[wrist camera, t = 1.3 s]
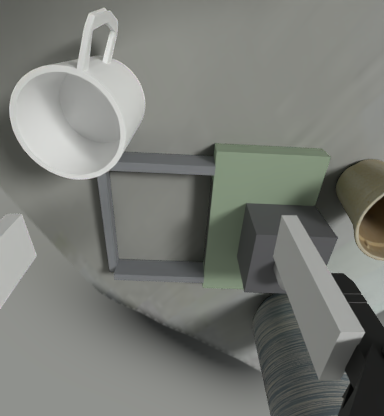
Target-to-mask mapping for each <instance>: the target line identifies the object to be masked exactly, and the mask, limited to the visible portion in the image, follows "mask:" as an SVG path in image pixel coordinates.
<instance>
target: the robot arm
mask: <svg viewBox="0 0 384 416" xmlns="http://www.w3.org/2000/svg"><path fill="white" fill-rule="evenodd" d="M36 256H37V254H36V252H35V249H34V246H33V243H32V241H31V238H30V235H29V232H28V230H27V227H26V224H25V221H24V218H23V216H22V214H6V215H5V216H4V217H3V218H2V219H1V220H0V309H1V307H2V306H3V304H4V303H5V301H6V300H7V298H8V297H9V296H10V294H11V293H12V291H13V290H14V288H15V287H16V285H17V284H18V282H19V281H20V280H21V278H22V277H23V275H24V274H25V272H26V271H27V269H28V268H29V267H30V265H31V264H32V262H33V261H34V259H35V257H36ZM273 258H274V260H275V263H276V266H277V268H278V271H279V274H280V277H281V279H282V282H283V285H284V287H285V290H286V293H287V295H288V298H289V301H290V303H291V306H292V309H293V312H294V314H295V317H296V320H297V322H298V325H299V328H300V330H301V333H302V336H303V338H304V341H305V344H306V347H307V349H308V352H309V355H310V357H311V360H312V363H313V365H314V368H315V371H316V373H317V376H318V379H319V380H340V379H341V377H342V375H343V373H344V372H346V374H347V376H348V378H349V381H350V384H349V385H348V387H347V389H346V391H345V392H344V394H343V396H342V398H343V402H342V405H341V408H340V411H339V413H338V416H384V327H383V326H382V324H381V323H380V321H379V320H378V318H377V316H376V315H375V313H374V312H373V310H372V309H371V307H370V306H369V304H367V301H366V300H365V298H364V297H363V295H361V292H360V291H359V289H358V288H357V286H356V285H355V283H354V282H353V281H352V280H351V279H349V278H348V277H347V276H346V275H345V274H343V273H330V271H329V270H328V268H327V266H326V264H325V263H324V261H323V259H322V258H321V256H320V254H319V252H318V251H317V249H316V247H315V246H314V244H313V242H312V241H311V239H310V237H309V235H308V234H307V232H306V230H305V229H304V227H303V225H302V223H301V222H300V220H299V218H298V217H297V215H282V216H281V221H280V226H279V231H278V236H277V240H276V245H275V250H274V255H273Z"/></svg>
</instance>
